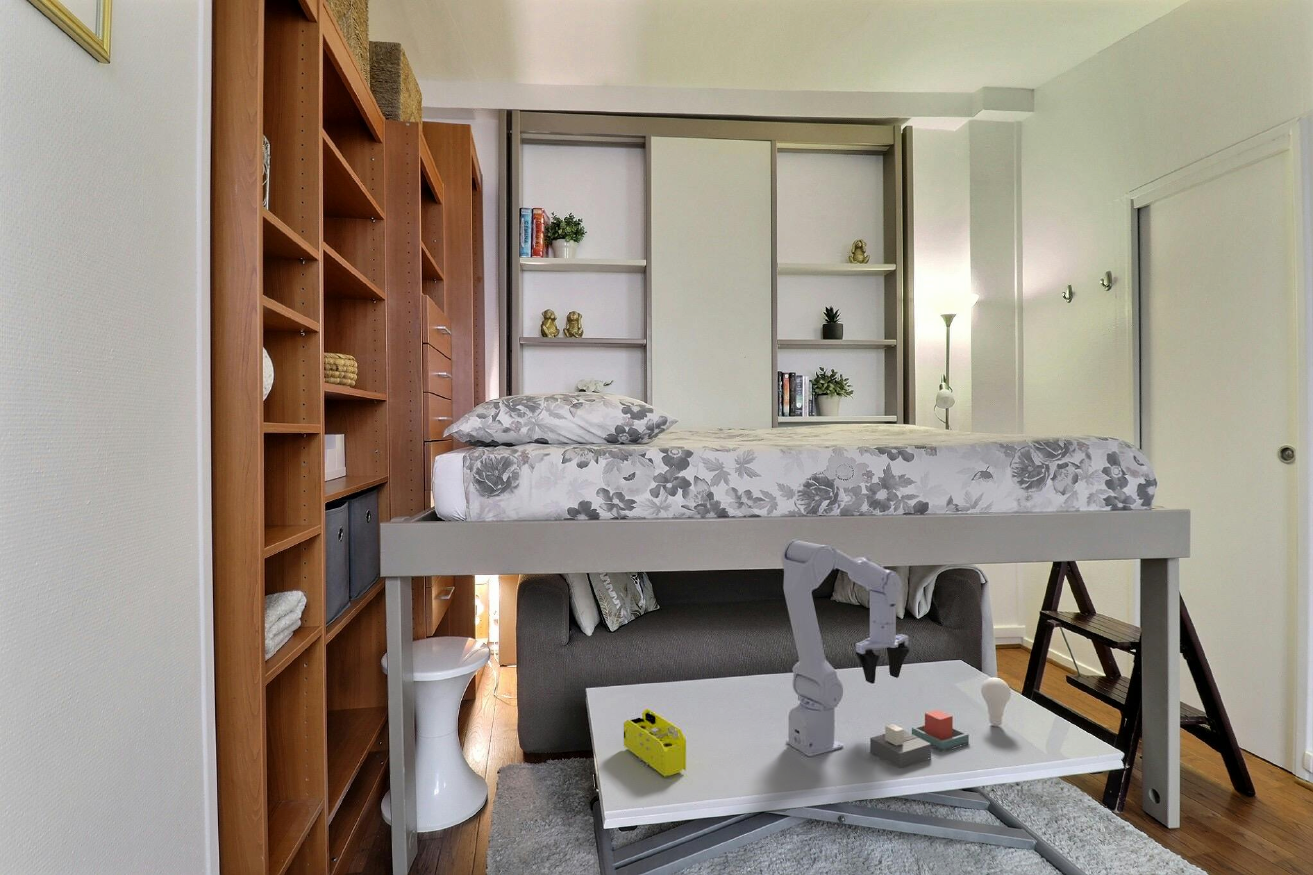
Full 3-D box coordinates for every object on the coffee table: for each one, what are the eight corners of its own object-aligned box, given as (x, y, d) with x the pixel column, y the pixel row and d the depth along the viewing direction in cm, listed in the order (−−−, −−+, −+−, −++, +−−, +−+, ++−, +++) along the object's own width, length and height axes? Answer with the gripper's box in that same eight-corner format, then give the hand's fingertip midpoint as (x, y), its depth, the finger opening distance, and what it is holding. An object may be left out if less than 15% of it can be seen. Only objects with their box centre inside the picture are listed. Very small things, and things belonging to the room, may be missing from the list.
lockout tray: (942, 751, 152) (942, 742, 152) (911, 736, 159) (911, 727, 159) (968, 743, 156) (968, 734, 156) (937, 728, 163) (937, 720, 163)
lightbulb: (979, 728, 163) (980, 680, 163) (981, 718, 169) (982, 671, 169) (1009, 733, 161) (1010, 684, 160) (1010, 723, 166) (1011, 676, 166)
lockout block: (939, 742, 155) (939, 719, 155) (924, 735, 159) (924, 712, 159) (952, 738, 157) (952, 716, 157) (937, 731, 161) (937, 709, 161)
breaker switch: (896, 745, 148) (896, 731, 148) (885, 739, 151) (885, 725, 151) (903, 743, 149) (903, 729, 149) (892, 737, 152) (892, 723, 151)
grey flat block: (899, 768, 145) (899, 752, 145) (870, 751, 152) (870, 737, 152) (930, 758, 149) (931, 743, 149) (901, 742, 156) (901, 728, 156)
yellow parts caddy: (688, 773, 143) (687, 731, 143) (664, 781, 140) (664, 738, 140) (645, 743, 157) (645, 705, 157) (622, 749, 154) (622, 710, 153)
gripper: (872, 629, 160) (871, 690, 160) (918, 620, 166) (918, 679, 167) (849, 621, 166) (849, 680, 166) (895, 613, 173) (895, 669, 173)
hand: (882, 679), depth 167 cm, fingers open, 7 cm apart
